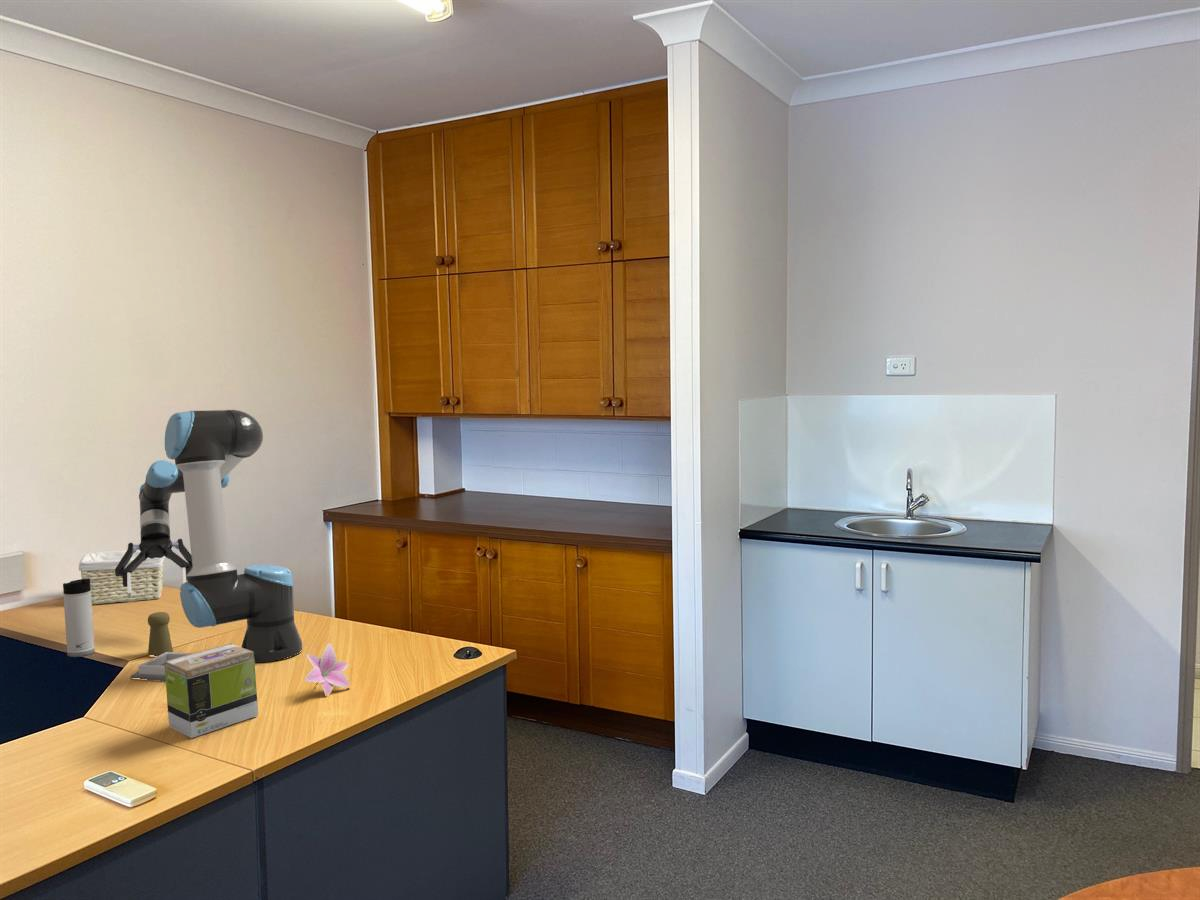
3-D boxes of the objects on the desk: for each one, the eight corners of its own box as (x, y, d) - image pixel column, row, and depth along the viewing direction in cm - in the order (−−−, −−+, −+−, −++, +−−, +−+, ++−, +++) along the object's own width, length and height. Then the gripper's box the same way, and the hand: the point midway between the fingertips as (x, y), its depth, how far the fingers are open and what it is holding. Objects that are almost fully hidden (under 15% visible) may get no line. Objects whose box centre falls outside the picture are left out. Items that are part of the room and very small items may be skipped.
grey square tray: (211, 664, 225) (211, 652, 225) (179, 682, 212) (178, 670, 212) (165, 661, 227) (165, 650, 227) (130, 679, 215) (130, 667, 214)
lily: (296, 706, 200) (312, 673, 197) (289, 671, 209) (304, 639, 207) (346, 710, 207) (362, 678, 204) (337, 677, 216) (353, 646, 213)
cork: (177, 649, 237) (175, 609, 236) (167, 657, 231) (164, 616, 230) (154, 650, 237) (152, 610, 236) (143, 657, 231) (141, 616, 230)
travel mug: (83, 658, 231) (78, 582, 229) (61, 656, 232) (56, 581, 230) (101, 650, 237) (96, 576, 235) (79, 648, 238) (75, 575, 236)
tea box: (235, 706, 198) (232, 641, 196) (259, 717, 191) (256, 650, 190) (167, 727, 186) (163, 659, 185) (190, 740, 180) (186, 669, 178)
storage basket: (168, 588, 303) (165, 546, 302) (164, 600, 288) (162, 555, 287) (88, 596, 294) (85, 552, 293) (79, 608, 279) (77, 562, 278)
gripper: (203, 533, 262) (207, 594, 250) (106, 540, 251) (106, 605, 239) (202, 517, 256) (207, 580, 244) (104, 525, 245) (104, 590, 233)
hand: (157, 592), depth 241 cm, fingers open, 13 cm apart
